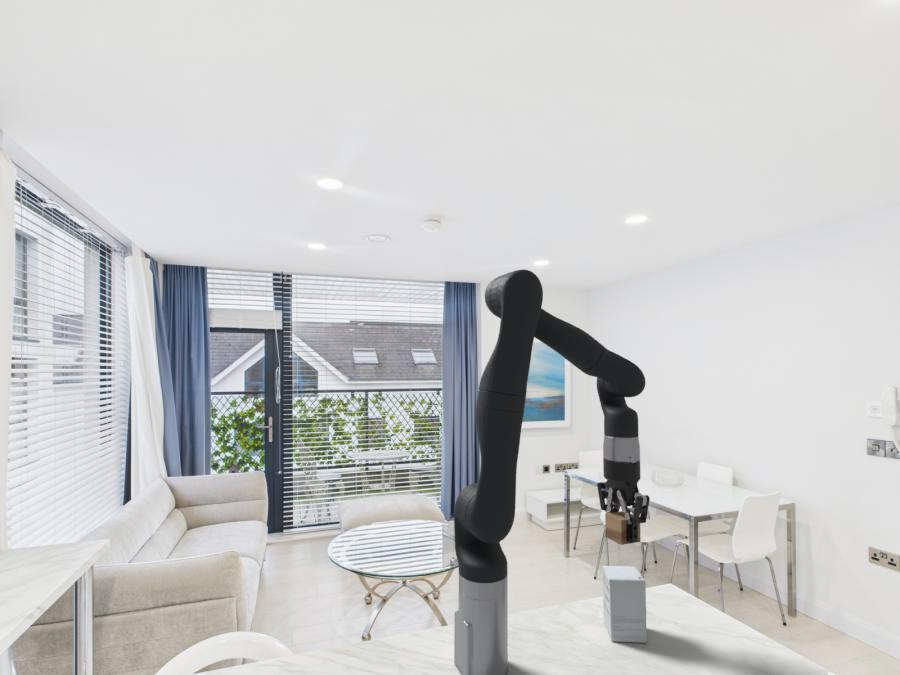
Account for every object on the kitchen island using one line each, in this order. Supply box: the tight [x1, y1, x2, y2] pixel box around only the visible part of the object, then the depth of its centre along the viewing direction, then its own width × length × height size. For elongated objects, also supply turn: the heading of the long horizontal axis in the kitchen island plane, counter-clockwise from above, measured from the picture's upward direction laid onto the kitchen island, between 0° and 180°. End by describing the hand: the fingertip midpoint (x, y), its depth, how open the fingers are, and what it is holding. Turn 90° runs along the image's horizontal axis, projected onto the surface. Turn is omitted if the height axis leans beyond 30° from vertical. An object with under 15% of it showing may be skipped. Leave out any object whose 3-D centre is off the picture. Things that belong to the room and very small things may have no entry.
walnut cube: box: [604, 510, 642, 546], centre depth 106 cm, size 5×5×5 cm
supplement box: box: [602, 565, 648, 644], centre depth 105 cm, size 7×7×13 cm
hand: (622, 537), depth 106 cm, fingers closed on walnut cube, 5 cm apart
